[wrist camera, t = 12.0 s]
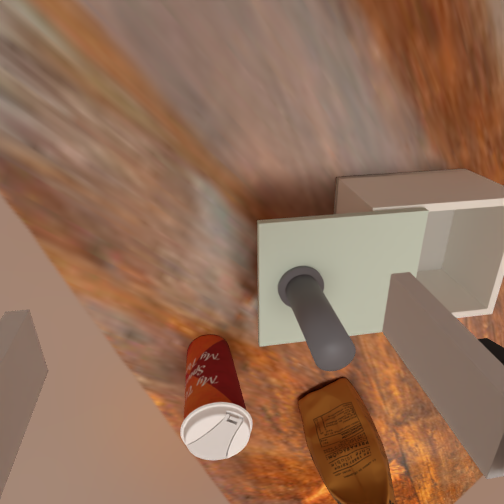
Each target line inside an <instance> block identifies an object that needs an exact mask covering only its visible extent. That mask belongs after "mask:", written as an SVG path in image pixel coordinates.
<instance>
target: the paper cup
mask: <svg viewBox="0 0 504 504" xmlns="http://www.w3.org/2000/svg"><path fill="white" fill-rule="evenodd" d="M251 430H252V419H251V416H250V414H249V413H248V412H247V411H246V407H245V403H244V400H243V396H242V392H241V388H240V385H239V381H238V377H237V374H236V370H235V366H234V363H233V359H232V355H231V352H230V349H229V346H228V344H227V342H226V341H225V340H224V339H223V338H221V337H219V336H217V335H203V336H200V337H198V338H196V339H195V340H194V341H193V342H192V343H191V344H190V346H189V348H188V352H187V365H186V385H185V407H184V421H183V423H182V425H181V438H182V440H183V442H184V443H185V444H186V446H187V447H188V449H189V451H190V452H191V453H192V454H193V455H195V456H196V457H199V458H201V459H205V460H220V459H226V458H229V457H231V456H234V455H235V454H237V453H238V452H240V451H241V450H242V449H243V448H244V447H245V446H246V444H247V442H248V440H249V437H250V433H251ZM226 456H227V457H226Z"/></svg>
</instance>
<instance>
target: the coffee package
mask: <svg viewBox="0 0 504 504" xmlns="http://www.w3.org/2000/svg"><path fill="white" fill-rule="evenodd" d="M298 406H299V410H300V413H301V417H302V421H303V427H304V434H305V438H306V442H307V446H308V448H309V451H310V454H311V457H312V459H313V461H314V464H315V466H316V468H317V470H318V472H319V474H320V476H321V478H322V480H323V482H324V484H325V485H326V487H327V489H328V490H329V492H330V494H331V495H332V497H333V498H334V499H335V501H336V502H337V503H338V504H396V501H395V496H394V490H393V485H392V479H391V474H390V469H389V464H388V459H387V456H386V453H385V450H384V447H383V444H382V441H381V439H380V436H379V434H378V432H377V429H376V427H375V425H374V422H373V420H372V418H371V416H370V414H369V412H368V410H367V408H366V406H365V405H364V403H363V401H362V399H361V398H360V396H359V394H358V393H357V391H356V390H355V388H354V387H353V386H352V384H351V383H350V382H349V381H348V380H347V379H346V378H341V379H338V380H337V381H335V382H333V383H331V384H329V385H327V386H325V387H324V388H322V389H319V390H317V391H314V392H311V393H309V394H307V395H306V396H305V397H303V398H302V399H300V400H299V401H298Z"/></svg>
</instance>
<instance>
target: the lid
mask: <svg viewBox="0 0 504 504" xmlns="http://www.w3.org/2000/svg"><path fill="white" fill-rule="evenodd" d="M428 212H429V210H427V209H426V208H411V209H398V210H385V211H372V212H358V213H345V214H332V215H319V216H306V217H293V218H280V219H267V220H257V268H258V343H259V346H268V345H277V344H285V343H293V342H302V341H306V342H307V345H308V347H309V349H310V352H311V354H312V356H313V358H314V361H315V363H316V365H317V366H318V367H319V368H320V369H322V370H325V371H336V370H339V369H342V368H344V367H345V366H347V365H348V364H349V363H350V362H351V361H352V360H353V358H354V356H355V346H354V344H353V342H352V340H351V339H350V337H349V336H352V335H361V334H369V333H378V332H382V329H383V323H384V316H385V310H386V304H387V297H388V291H389V285H390V278H391V274H394V273H404V272H410V273H411V274H412V275H413V276H414V277H415V278H416V276H417V270H418V265H419V260H420V254H421V249H422V244H423V239H424V233H425V228H426V223H427V218H428Z"/></svg>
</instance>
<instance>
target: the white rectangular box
mask: <svg viewBox="0 0 504 504" xmlns="http://www.w3.org/2000/svg"><path fill="white" fill-rule="evenodd" d="M411 208H426V209H427V210H429V212H428V218H427V223H426V228H425V233H424V239H423V244H422V249H421V254H420V260H419V265H418V270H417V276H416V279H417V280H418V281H419V282H420V283H421V284H422V285H423V286H424V287H425V288H426V289H427V290H428V291H430V292H431V293H432V294H433V295H434V296H435V297H436V298H437V299H438V300H439V301H440V302H441V303H442V304H443V305H444V306H445V307H446V308H447V309H448V310H449V311H450V312H451V313H452V314H453V315H454V316H455V317H456V318H461V317H469V316H478V315H486V314H492V313H493V309H494V306H495V303H496V299H497V296H498V292H499V289H500V286H501V282H502V279H503V276H504V186H503V185H501V184H498V183H496V182H494V181H492V180H489V179H487V178H485V177H483V176H481V175H478V174H476V173H474V172H472V171H469V170H467V169H452V170H436V171H421V172H405V173H389V174H374V175H358V176H342V177H336V189H335V202H334V214H345V213H358V212H372V211H385V210H398V209H411Z"/></svg>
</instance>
